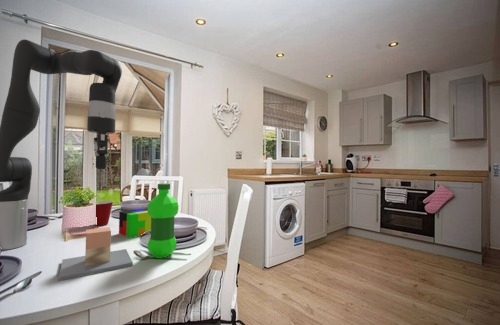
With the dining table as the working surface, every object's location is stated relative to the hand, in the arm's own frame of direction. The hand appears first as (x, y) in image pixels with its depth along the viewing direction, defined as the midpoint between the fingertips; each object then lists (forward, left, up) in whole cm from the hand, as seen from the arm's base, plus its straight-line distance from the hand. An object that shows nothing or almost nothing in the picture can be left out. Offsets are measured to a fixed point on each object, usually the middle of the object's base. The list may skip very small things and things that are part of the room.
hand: (100, 168), depth 75 cm
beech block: (0, 0, -29) cm, 29 cm away
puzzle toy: (+16, +30, -30) cm, 46 cm away
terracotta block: (0, 0, -24) cm, 24 cm away
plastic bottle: (+19, -3, -30) cm, 36 cm away
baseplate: (0, 0, -30) cm, 30 cm away
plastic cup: (+4, +55, -30) cm, 63 cm away
